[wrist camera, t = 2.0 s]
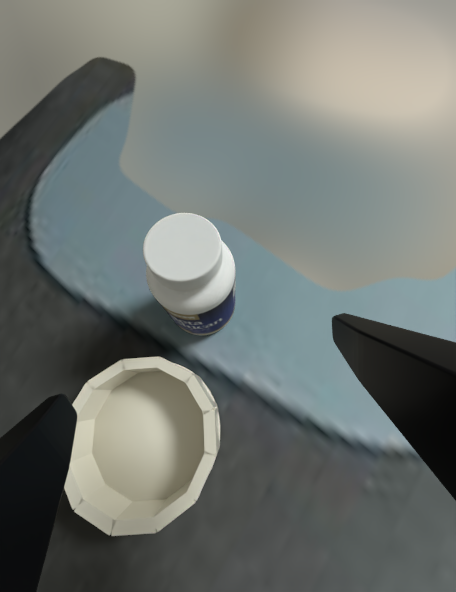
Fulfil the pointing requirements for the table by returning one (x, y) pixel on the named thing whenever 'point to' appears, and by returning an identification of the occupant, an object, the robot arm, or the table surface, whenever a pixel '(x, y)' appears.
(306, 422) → the table surface
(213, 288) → the pill bottle
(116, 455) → the bowl
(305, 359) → the table surface
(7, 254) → the table surface
